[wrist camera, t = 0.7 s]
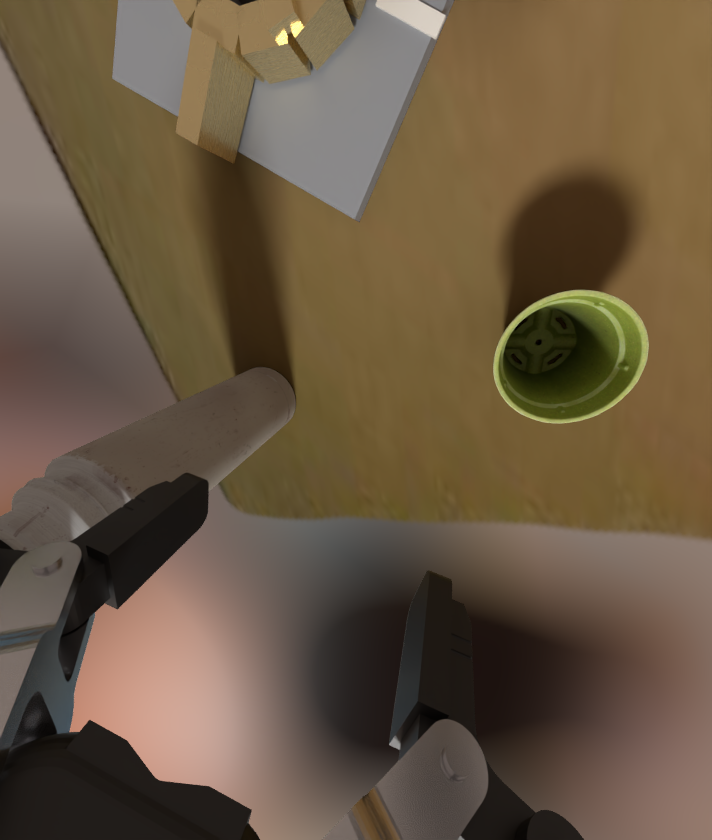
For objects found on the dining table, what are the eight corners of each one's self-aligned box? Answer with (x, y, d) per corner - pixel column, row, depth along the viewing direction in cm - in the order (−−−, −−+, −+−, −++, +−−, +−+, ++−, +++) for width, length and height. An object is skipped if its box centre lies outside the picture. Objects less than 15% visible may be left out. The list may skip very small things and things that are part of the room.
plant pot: (547, 261, 28) (581, 256, 20) (623, 337, 29) (684, 359, 21) (463, 343, 32) (465, 364, 25) (530, 407, 33) (553, 446, 25)
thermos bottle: (277, 438, 43) (38, 656, 18) (229, 400, 43) (-79, 569, 18) (307, 395, 39) (59, 596, 15) (255, 353, 39) (-89, 486, 14)
